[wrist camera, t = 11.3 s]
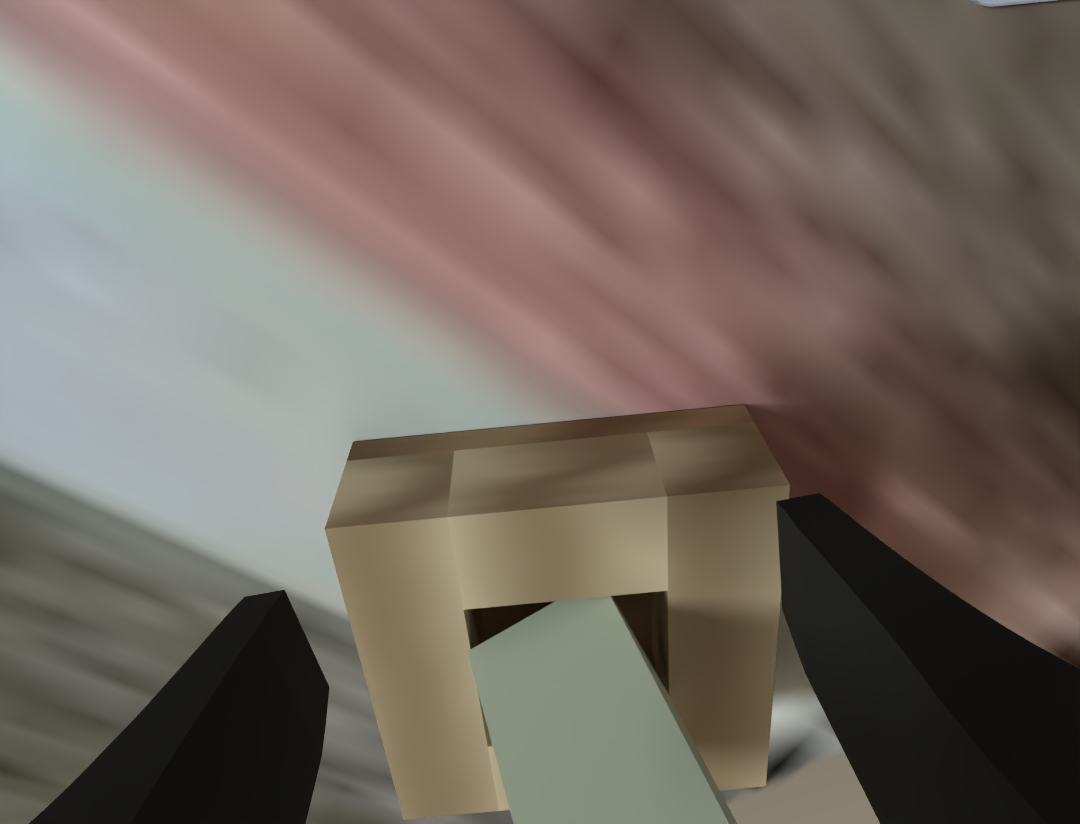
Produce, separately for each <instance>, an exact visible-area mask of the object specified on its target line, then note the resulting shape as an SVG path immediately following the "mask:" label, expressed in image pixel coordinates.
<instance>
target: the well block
mask: <svg viewBox="0 0 1080 824" xmlns="http://www.w3.org/2000/svg"><path fill="white" fill-rule="evenodd" d="M789 492H790V484H789V482H788V480H787V479H786V477H785V475H784V473H783V471H782V470H781V468H780V466H779V464H778V463H777V461H776V459H775V457H774V456H773V454H772V452H771V450H770V449H769V447H768V445H767V443H766V442H765V440H764V438H763V436H762V435H761V433H760V431H759V429H758V428H757V426H756V424H755V422H754V420H753V419H752V417H751V415H750V413H749V412H748V410H747V408H746V406H745V405H735V406H725V407H714V408H703V409H693V410H682V411H672V412H661V413H651V414H640V415H630V416H619V417H609V418H598V419H588V420H577V421H567V422H556V423H546V424H535V425H525V426H514V427H504V428H493V429H483V430H472V431H462V432H451V433H440V434H430V435H419V436H409V437H398V438H388V439H377V440H367V441H356V442H353V444H352V447H351V450H350V453H349V456H348V459H347V462H346V465H345V468H344V471H343V475H342V478H341V481H340V484H339V487H338V490H337V493H336V496H335V499H334V502H333V505H332V508H331V511H330V514H329V518H328V521H327V524H326V527H325V531H326V535H327V539H328V542H329V546H330V550H331V553H332V557H333V561H334V564H335V568H336V572H337V576H338V579H339V583H340V587H341V590H342V594H343V598H344V601H345V605H346V609H347V612H348V616H349V620H350V624H351V627H352V631H353V635H354V638H355V642H356V646H357V649H358V653H359V657H360V660H361V664H362V668H363V671H364V675H365V679H366V683H367V686H368V690H369V694H370V697H371V701H372V705H373V708H374V712H375V716H376V719H377V723H378V727H379V730H380V734H381V738H382V742H383V745H384V749H385V753H386V756H387V760H388V764H389V767H390V771H391V775H392V778H393V782H394V786H395V789H396V793H397V797H398V801H399V804H400V808H401V812H402V815H403V819H404V820H405V819H416V818H426V817H437V816H448V815H459V814H470V813H481V812H491V811H502V810H510V808H509V804H508V800H507V797H506V793H505V789H504V786H503V782H502V778H501V775H500V771H499V767H498V764H497V760H496V756H495V753H494V749H493V745H492V741H491V738H490V734H489V730H488V727H487V723H486V719H485V716H484V712H483V708H482V705H481V701H480V697H479V694H478V690H477V686H476V683H475V679H474V675H473V672H472V668H471V664H470V660H469V657H468V653H467V651H469V650H471V649H472V648H474V647H476V646H478V645H479V644H481V643H483V642H485V641H486V640H488V639H490V638H492V637H493V636H495V635H497V634H499V633H501V632H502V631H504V630H506V629H508V628H509V627H511V626H513V625H515V624H516V623H518V622H520V621H522V620H523V619H525V618H527V617H529V616H530V615H532V614H534V613H536V612H538V611H539V610H541V609H543V608H545V607H546V606H548V605H550V604H552V603H553V602H555V601H562V600H573V599H584V598H594V597H605V596H612V597H613V598H614V600H615V602H616V603H617V605H618V607H619V608H620V610H621V612H622V613H623V615H624V617H625V618H626V620H627V622H628V623H629V625H630V627H631V629H632V630H633V632H634V634H635V635H636V637H637V639H638V640H639V642H640V644H641V645H642V647H643V649H644V650H645V652H646V654H647V655H648V657H649V659H650V660H651V662H652V664H653V666H654V668H655V670H656V672H657V673H658V675H659V677H660V679H661V681H662V683H663V685H664V687H665V689H666V690H667V692H668V694H669V696H670V698H671V700H672V702H673V704H674V706H675V707H676V709H677V711H678V713H679V715H680V717H681V719H682V721H683V723H684V724H685V726H686V728H687V730H688V732H689V734H690V736H691V738H692V739H693V741H694V743H695V745H696V747H697V749H698V751H699V753H700V755H701V756H702V758H703V760H704V762H705V764H706V766H707V768H708V770H709V772H710V773H711V775H712V777H713V779H714V781H715V783H716V785H717V787H718V789H719V790H730V789H740V788H751V787H762V786H766V776H767V764H768V751H769V739H770V727H771V714H772V702H773V690H774V677H775V665H776V653H777V640H778V628H779V616H780V603H781V576H780V559H779V542H778V525H777V507H776V501H780V500H785V499H789Z"/></svg>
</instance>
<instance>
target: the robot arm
mask: <svg viewBox="0 0 1080 824" xmlns="http://www.w3.org/2000/svg"><path fill="white" fill-rule="evenodd" d="M971 1H972V2H974V3H975V4H976V5H979V6H988V7H994V6H1005V5H1015V4H1025V3H1035V2H1046V1H1056V0H971ZM776 507H777V525H778V542H779V559H780V576H781V593H782V609H783V612H784V615H785V618H786V620H787V623H788V626H789V629H790V632H791V635H792V638H793V640H794V643H795V646H796V649H797V652H798V654H799V657H800V660H801V662H802V665H803V668H804V670H805V673H806V675H807V677H808V679H809V681H810V684H811V686H812V688H813V690H814V692H815V694H816V696H817V698H818V700H819V702H820V704H821V706H822V708H823V710H824V712H825V714H826V716H827V718H828V720H829V722H830V724H831V726H832V728H833V730H834V732H835V734H836V736H837V738H838V740H839V742H840V744H841V746H842V748H843V750H844V752H845V754H846V756H847V758H848V760H849V762H850V764H851V766H852V768H853V770H854V772H855V774H856V776H857V778H858V780H859V782H860V784H861V786H862V788H863V790H864V792H865V794H866V796H867V798H868V800H869V802H870V804H871V806H872V808H873V810H874V812H875V814H876V816H877V818H878V820H879V822H880V824H1080V669H1078V668H1077V667H1075V666H1073V665H1071V664H1069V663H1067V662H1066V661H1064V660H1062V659H1060V658H1058V657H1056V656H1055V655H1053V654H1051V653H1049V652H1047V651H1046V650H1044V649H1042V648H1040V647H1038V646H1036V645H1035V644H1033V643H1031V642H1029V641H1028V640H1026V639H1024V638H1023V637H1021V636H1019V635H1018V634H1016V633H1014V632H1012V631H1011V630H1009V629H1007V628H1006V627H1004V626H1003V625H1001V624H999V623H998V622H996V621H995V620H993V619H992V618H990V617H989V616H987V615H985V614H984V613H982V612H981V611H979V610H978V609H976V608H974V607H973V606H971V605H970V604H968V603H967V602H965V601H964V600H962V599H961V598H959V597H958V596H956V595H955V594H953V593H952V592H951V591H949V590H948V589H946V588H945V587H943V586H942V585H941V584H939V583H938V582H936V581H935V580H934V579H932V578H931V577H929V576H928V575H927V574H925V573H924V572H922V571H921V570H919V569H918V568H917V567H915V566H914V565H912V564H911V563H910V562H908V561H907V560H906V559H904V558H903V557H902V556H900V555H899V554H898V553H896V552H895V551H894V550H892V549H891V548H890V547H888V546H887V545H886V544H884V543H883V542H882V541H880V540H879V539H878V538H877V537H875V536H874V535H873V534H871V533H870V532H869V531H867V530H866V529H865V528H864V527H862V526H861V525H860V524H859V523H857V522H856V521H855V520H854V519H852V518H851V517H850V516H848V515H847V514H846V513H845V512H843V511H842V510H841V509H840V508H838V507H837V506H836V505H835V504H833V503H832V502H831V501H829V500H828V499H827V498H825V497H824V496H823V495H821V494H820V493H819V494H813V495H807V496H802V497H796V498H791V499H785V500H780V501H776ZM328 695H329V685H328V683H327V681H326V679H325V677H324V675H323V672H322V670H321V668H320V666H319V664H318V662H317V659H316V657H315V655H314V653H313V651H312V649H311V646H310V644H309V642H308V640H307V638H306V635H305V633H304V631H303V629H302V627H301V625H300V622H299V620H298V618H297V616H296V614H295V612H294V609H293V607H292V605H291V603H290V601H289V599H288V596H287V594H286V592H285V590H281V591H275V592H270V593H264V594H259V595H253V596H247V597H244V598H243V599H242V600H241V601H240V602H239V603H238V604H237V605H236V606H235V607H234V608H233V610H232V611H231V612H230V613H229V614H228V615H227V616H226V617H225V618H224V619H223V620H222V622H221V623H220V624H219V625H218V626H217V627H216V628H215V629H214V631H213V632H212V633H211V634H210V635H209V636H208V637H207V638H206V640H205V641H204V642H203V643H202V644H201V645H200V646H199V648H198V649H197V650H196V651H195V652H194V653H193V654H192V655H191V657H190V658H189V659H188V660H187V661H186V662H185V663H184V665H183V666H182V667H181V668H180V669H179V670H178V671H177V672H176V674H175V675H174V676H173V677H172V678H171V679H170V680H169V681H168V682H167V684H166V685H165V686H164V687H163V688H162V689H161V690H160V691H159V693H158V694H157V695H156V696H155V697H154V698H153V699H152V700H151V701H150V703H149V704H148V705H147V706H146V707H145V708H144V709H143V710H142V711H141V712H140V714H139V715H138V716H137V717H136V718H135V719H134V720H133V721H132V722H131V723H130V724H129V725H128V726H127V727H126V728H125V729H124V730H123V731H122V732H121V733H120V734H119V735H118V736H117V738H116V739H115V740H114V741H113V742H112V743H111V744H110V745H109V746H108V747H107V748H106V749H105V750H104V751H103V752H102V753H101V754H100V755H99V756H98V757H97V758H96V759H95V760H94V761H93V762H92V764H91V765H90V766H89V767H88V768H87V769H86V770H85V771H84V772H83V773H82V774H81V775H80V776H79V777H78V778H77V779H76V780H75V781H74V782H73V783H72V784H71V785H70V786H69V787H68V788H67V789H66V790H65V791H64V792H63V793H61V794H60V795H59V796H58V797H57V798H56V799H55V800H54V801H53V802H52V803H51V804H50V805H49V806H48V807H47V808H46V809H45V810H44V811H42V812H41V813H40V814H39V815H38V816H37V817H36V818H35V819H34V820H33V821H31V822H30V823H29V824H305V823H306V819H307V815H308V811H309V807H310V803H311V798H312V794H313V790H314V786H315V782H316V778H317V773H318V769H319V765H320V760H321V756H322V749H323V741H324V733H325V726H326V716H327V705H328Z"/></svg>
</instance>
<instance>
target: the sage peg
mask: <svg viewBox="0 0 1080 824" xmlns="http://www.w3.org/2000/svg"><path fill="white" fill-rule="evenodd" d="M467 653H468V657H469V660H470V664H471V668H472V672H473V675H474V679H475V683H476V686H477V690H478V694H479V697H480V701H481V705H482V708H483V712H484V716H485V719H486V723H487V727H488V730H489V734H490V738H491V741H492V745H493V749H494V753H495V756H496V760H497V764H498V767H499V771H500V775H501V778H502V782H503V786H504V789H505V793H506V797H507V800H508V804H509V808H510V811H511V815H512V819H513V823H514V824H737V823H736V821H735V819H734V817H733V815H732V813H731V811H730V809H729V807H728V806H727V804H726V802H725V800H724V798H723V796H722V794H721V792H720V790H719V789H718V787H717V785H716V783H715V781H714V779H713V777H712V775H711V773H710V772H709V770H708V768H707V766H706V764H705V762H704V760H703V758H702V756H701V755H700V753H699V751H698V749H697V747H696V745H695V743H694V741H693V739H692V738H691V736H690V734H689V732H688V730H687V728H686V726H685V724H684V723H683V721H682V719H681V717H680V715H679V713H678V711H677V709H676V707H675V706H674V704H673V702H672V700H671V698H670V696H669V694H668V692H667V690H666V689H665V687H664V685H663V683H662V681H661V679H660V677H659V675H658V673H657V672H656V670H655V668H654V666H653V664H652V662H651V660H650V659H649V657H648V655H647V654H646V652H645V650H644V649H643V647H642V645H641V644H640V642H639V640H638V639H637V637H636V635H635V634H634V632H633V630H632V629H631V627H630V625H629V623H628V622H627V620H626V618H625V617H624V615H623V613H622V612H621V610H620V608H619V607H618V605H617V603H616V602H615V600H614V598H613V597H612V596H605V597H594V598H584V599H573V600H562V601H555V602H553V603H552V604H550V605H548V606H546V607H545V608H543V609H541V610H539V611H538V612H536V613H534V614H532V615H530V616H529V617H527V618H525V619H523V620H522V621H520V622H518V623H516V624H515V625H513V626H511V627H509V628H508V629H506V630H504V631H502V632H501V633H499V634H497V635H495V636H493V637H492V638H490V639H488V640H486V641H485V642H483V643H481V644H479V645H478V646H476V647H474V648H472V649H471V650H469V651H467Z"/></svg>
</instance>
